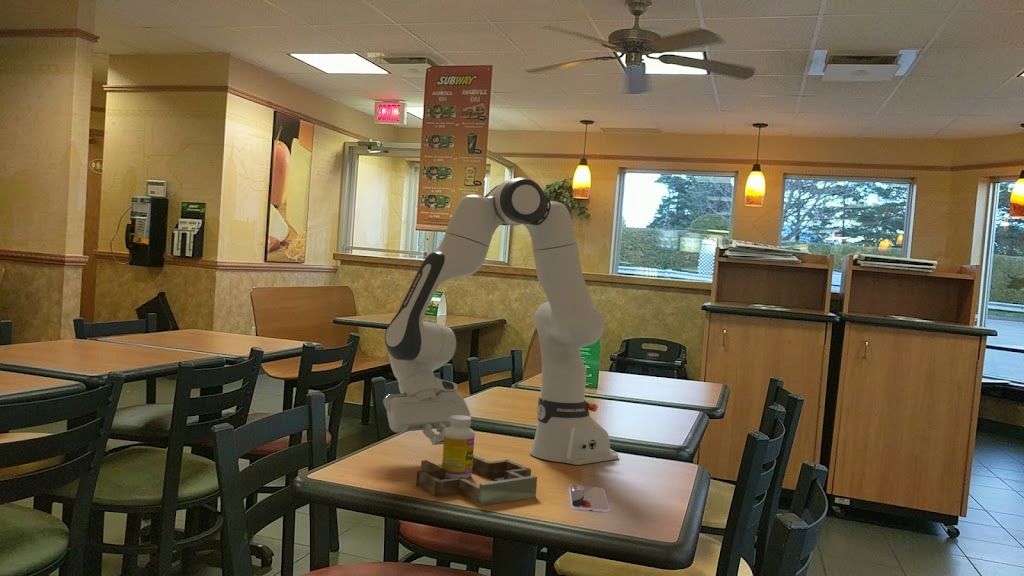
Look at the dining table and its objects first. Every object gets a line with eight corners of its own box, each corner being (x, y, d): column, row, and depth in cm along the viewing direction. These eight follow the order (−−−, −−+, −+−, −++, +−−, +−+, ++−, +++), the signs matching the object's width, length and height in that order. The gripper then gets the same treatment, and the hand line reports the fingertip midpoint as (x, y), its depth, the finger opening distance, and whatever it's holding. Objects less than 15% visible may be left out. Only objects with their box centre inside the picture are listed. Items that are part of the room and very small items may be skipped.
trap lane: (400, 477, 153) (401, 458, 153) (489, 465, 168) (490, 448, 168) (459, 509, 135) (461, 488, 135) (554, 493, 149) (555, 474, 149)
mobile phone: (571, 506, 140) (568, 484, 155) (570, 511, 140) (568, 488, 155) (610, 509, 139) (604, 486, 154) (610, 514, 139) (604, 491, 154)
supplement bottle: (467, 481, 154) (471, 421, 153) (437, 477, 155) (441, 418, 155) (475, 473, 160) (479, 416, 160) (446, 470, 161) (450, 412, 161)
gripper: (386, 386, 163) (404, 439, 155) (462, 383, 175) (482, 431, 168) (376, 403, 166) (393, 455, 159) (450, 398, 179) (470, 446, 171)
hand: (439, 443), depth 163 cm, fingers closed
